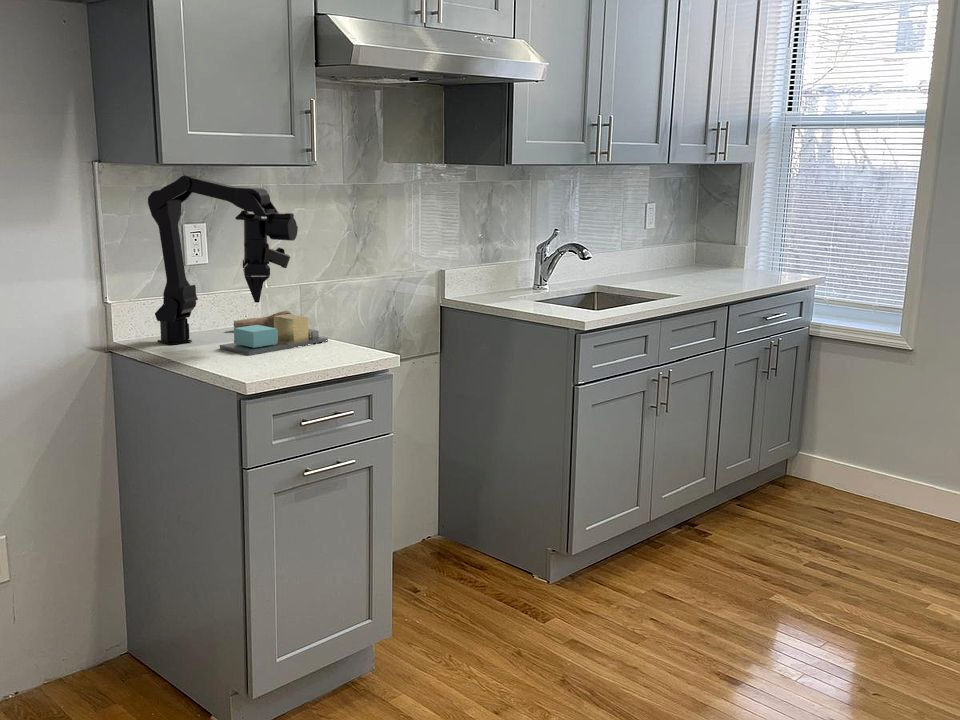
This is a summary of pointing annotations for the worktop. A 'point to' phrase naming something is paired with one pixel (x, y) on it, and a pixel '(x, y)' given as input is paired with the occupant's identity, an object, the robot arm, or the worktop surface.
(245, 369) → the worktop surface
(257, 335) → the slide jaw
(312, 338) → the vise
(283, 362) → the worktop surface
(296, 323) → the brass block
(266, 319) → the pipe
